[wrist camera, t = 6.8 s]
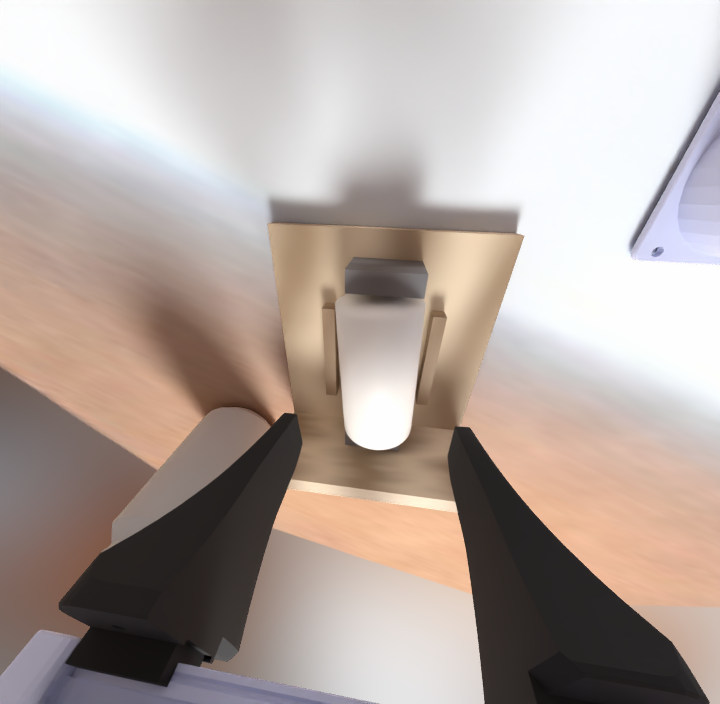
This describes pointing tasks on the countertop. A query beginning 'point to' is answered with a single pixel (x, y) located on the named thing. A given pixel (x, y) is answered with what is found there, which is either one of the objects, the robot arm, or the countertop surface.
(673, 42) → the countertop surface
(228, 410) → the can
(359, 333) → the cylinder
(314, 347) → the roll holder
